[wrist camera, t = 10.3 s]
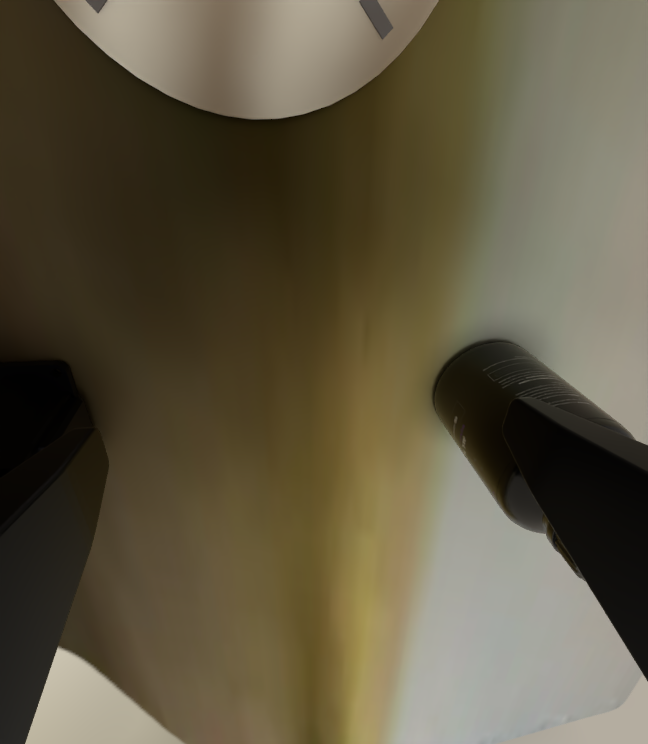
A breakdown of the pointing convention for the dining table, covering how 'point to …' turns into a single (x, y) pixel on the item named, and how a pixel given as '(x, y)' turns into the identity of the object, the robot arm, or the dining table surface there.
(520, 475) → the supplement bottle
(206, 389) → the dining table surface
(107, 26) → the turntable
